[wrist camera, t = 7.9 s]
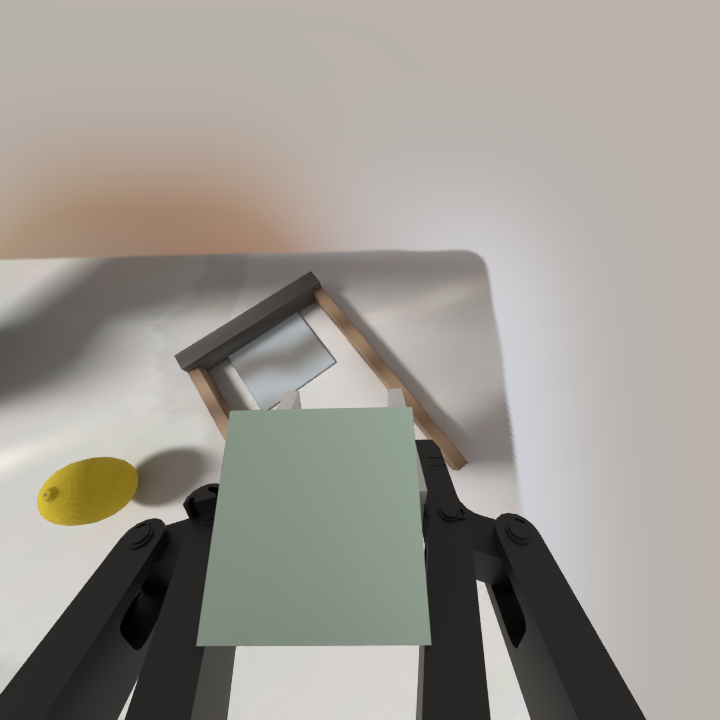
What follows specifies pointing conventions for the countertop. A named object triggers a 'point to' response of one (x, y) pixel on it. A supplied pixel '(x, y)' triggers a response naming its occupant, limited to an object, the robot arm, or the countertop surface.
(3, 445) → the countertop surface
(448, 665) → the robot arm
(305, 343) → the track
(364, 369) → the countertop surface
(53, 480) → the lemon
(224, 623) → the block
